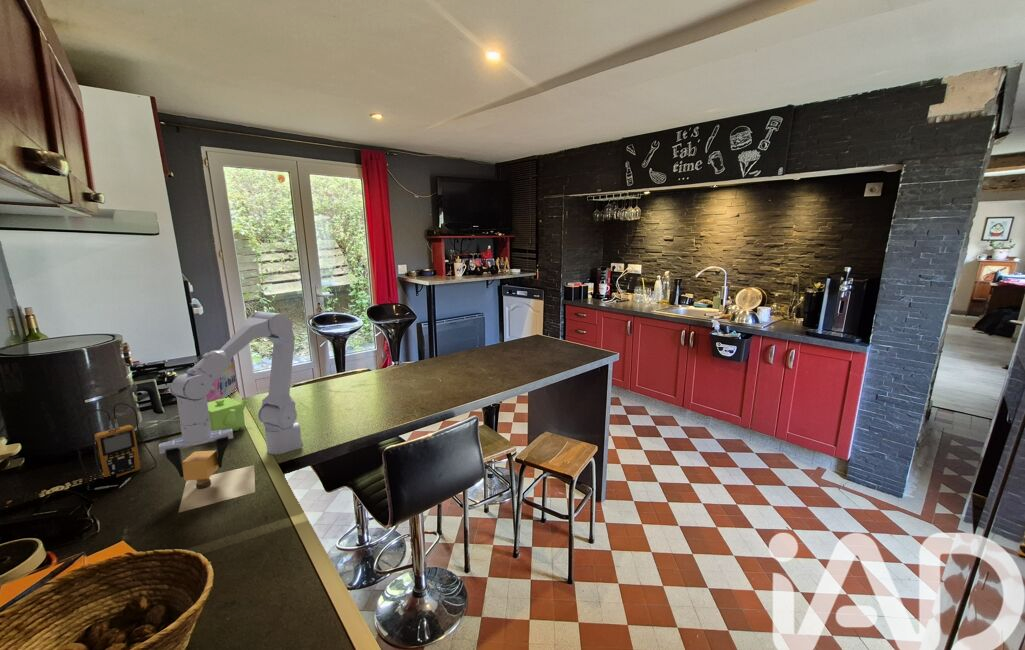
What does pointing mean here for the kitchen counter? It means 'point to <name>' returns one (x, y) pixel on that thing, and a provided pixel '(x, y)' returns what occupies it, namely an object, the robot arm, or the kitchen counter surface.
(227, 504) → the kitchen counter surface
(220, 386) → the gum box
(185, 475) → the tilted amber cube
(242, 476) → the board
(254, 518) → the kitchen counter surface
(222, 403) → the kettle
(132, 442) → the multimeter
